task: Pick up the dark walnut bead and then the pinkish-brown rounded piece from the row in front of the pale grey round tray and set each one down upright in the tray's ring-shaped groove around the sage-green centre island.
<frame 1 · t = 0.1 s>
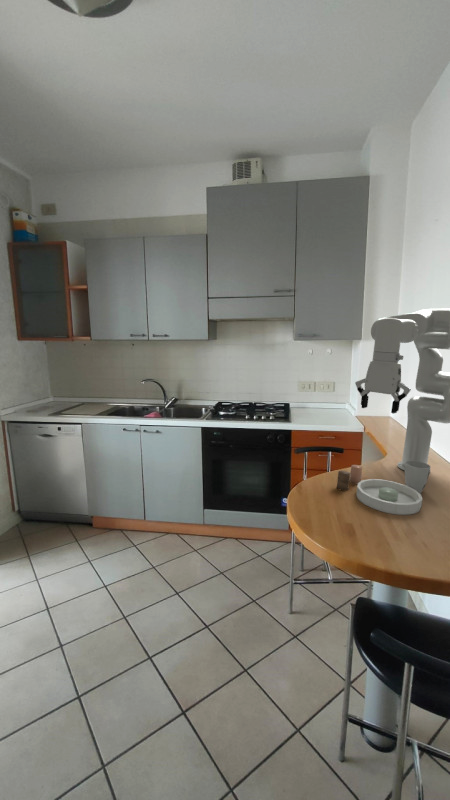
hand: (378, 410, 118), 31 cm above the breakfast bar, fingers open, 9 cm apart
groove tray: (387, 500, 122), on the breakfast bar
cup: (413, 490, 132), on the breakfast bar
pinkish-brown rounded piece: (355, 481, 138), on the breakfast bar
walnut bead: (342, 488, 131), on the breakfast bar
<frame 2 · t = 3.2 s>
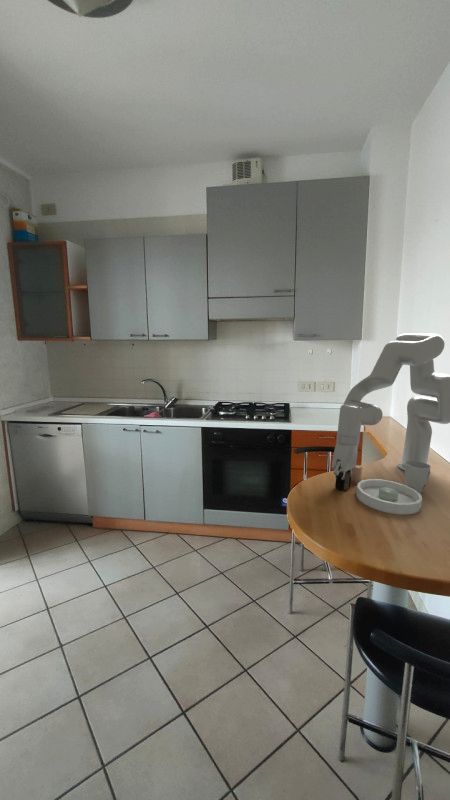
hand: (342, 486, 131), 1 cm above the breakfast bar, fingers closed on walnut bead, 4 cm apart
walnut bead: (342, 488, 131), on the breakfast bar, touching gripper
everything else where it was.
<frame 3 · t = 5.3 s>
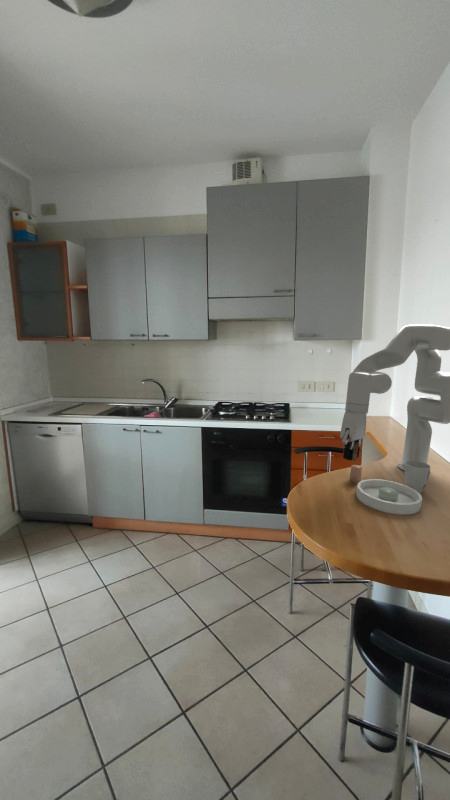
hand: (350, 457, 128), 12 cm above the breakfast bar, fingers closed on walnut bead, 4 cm apart
walnut bead: (350, 458, 128), point 12 cm above the breakfast bar, touching gripper
everything else where it was.
when the fingers open (3 cm above the breakfast bar, at t = 7.3 s): walnut bead drops 1 cm, resting on groove tray.
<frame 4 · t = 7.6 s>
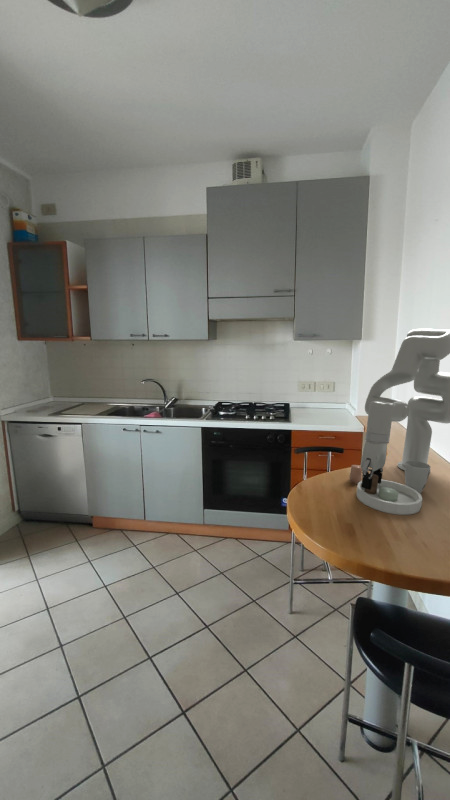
hand: (371, 484, 126), 4 cm above the breakfast bar, fingers open, 7 cm apart
walnut bead: (370, 491, 126), point 1 cm above the breakfast bar, touching groove tray
everything else where it was.
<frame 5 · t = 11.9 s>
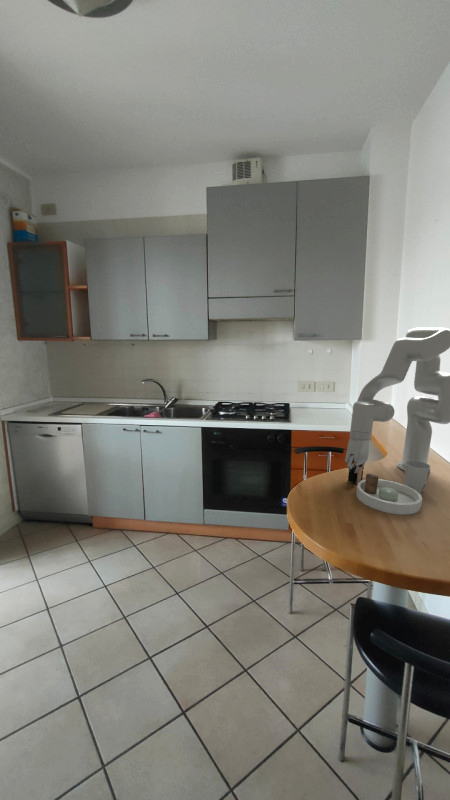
hand: (355, 480, 138), 1 cm above the breakfast bar, fingers closed on pinkish-brown rounded piece, 4 cm apart
pinkish-brown rounded piece: (354, 481, 138), on the breakfast bar, touching gripper
everything else where it was.
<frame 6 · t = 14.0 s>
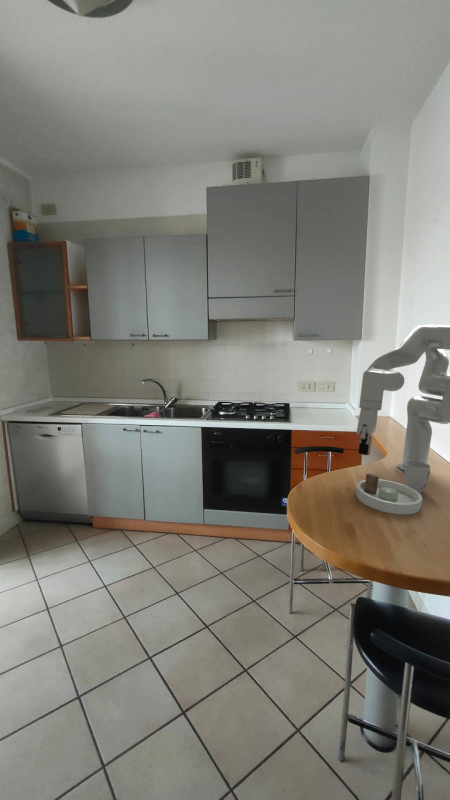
hand: (364, 452, 134), 12 cm above the breakfast bar, fingers closed on pinkish-brown rounded piece, 4 cm apart
pinkish-brown rounded piece: (364, 453, 134), point 12 cm above the breakfast bar, touching gripper
everything else where it was.
when the fingers open (3 cm above the breakfast bar, at t = 16.5 s): pinkish-brown rounded piece drops 1 cm, resting on groove tray.
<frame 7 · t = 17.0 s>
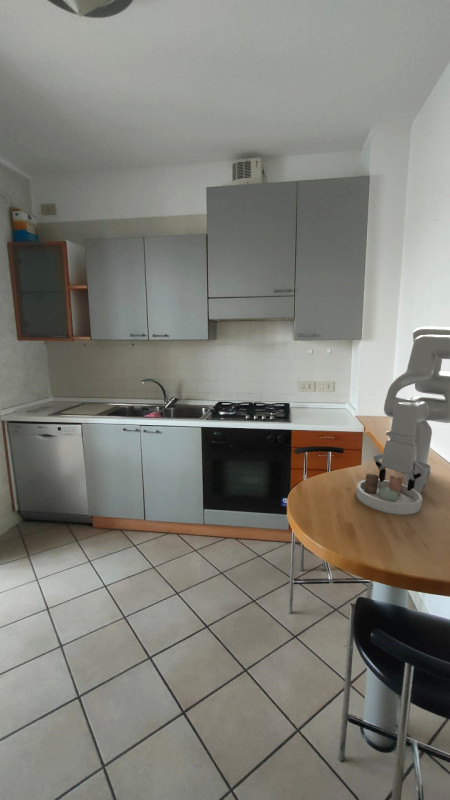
hand: (395, 485, 126), 4 cm above the breakfast bar, fingers open, 9 cm apart
pinkish-brown rounded piece: (394, 492, 127), point 1 cm above the breakfast bar, touching groove tray
everything else where it was.
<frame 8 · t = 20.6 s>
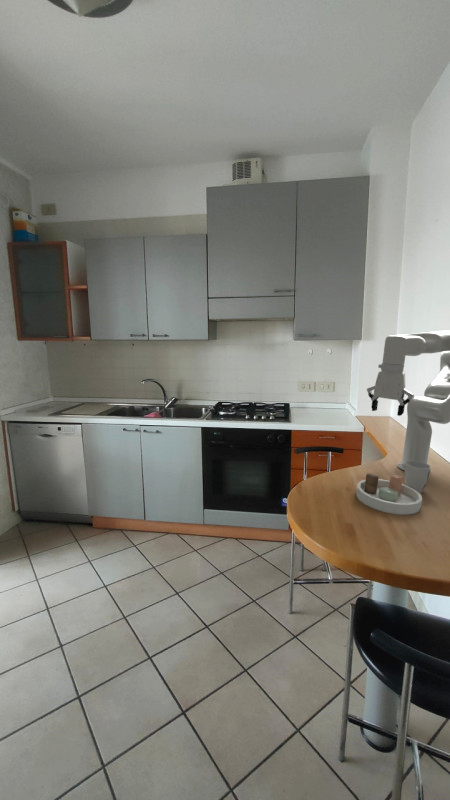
hand: (386, 412, 139), 26 cm above the breakfast bar, fingers open, 9 cm apart
nothing on the breakfast bar moved.
at the end: walnut bead inside the target area on the groove tray (6.0 cm from its centre), point 1.0 cm above the groove tray's base; pinkish-brown rounded piece inside the target area on the groove tray (6.0 cm from its centre), point 1.0 cm above the groove tray's base; pinkish-brown rounded piece tilted 0° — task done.
